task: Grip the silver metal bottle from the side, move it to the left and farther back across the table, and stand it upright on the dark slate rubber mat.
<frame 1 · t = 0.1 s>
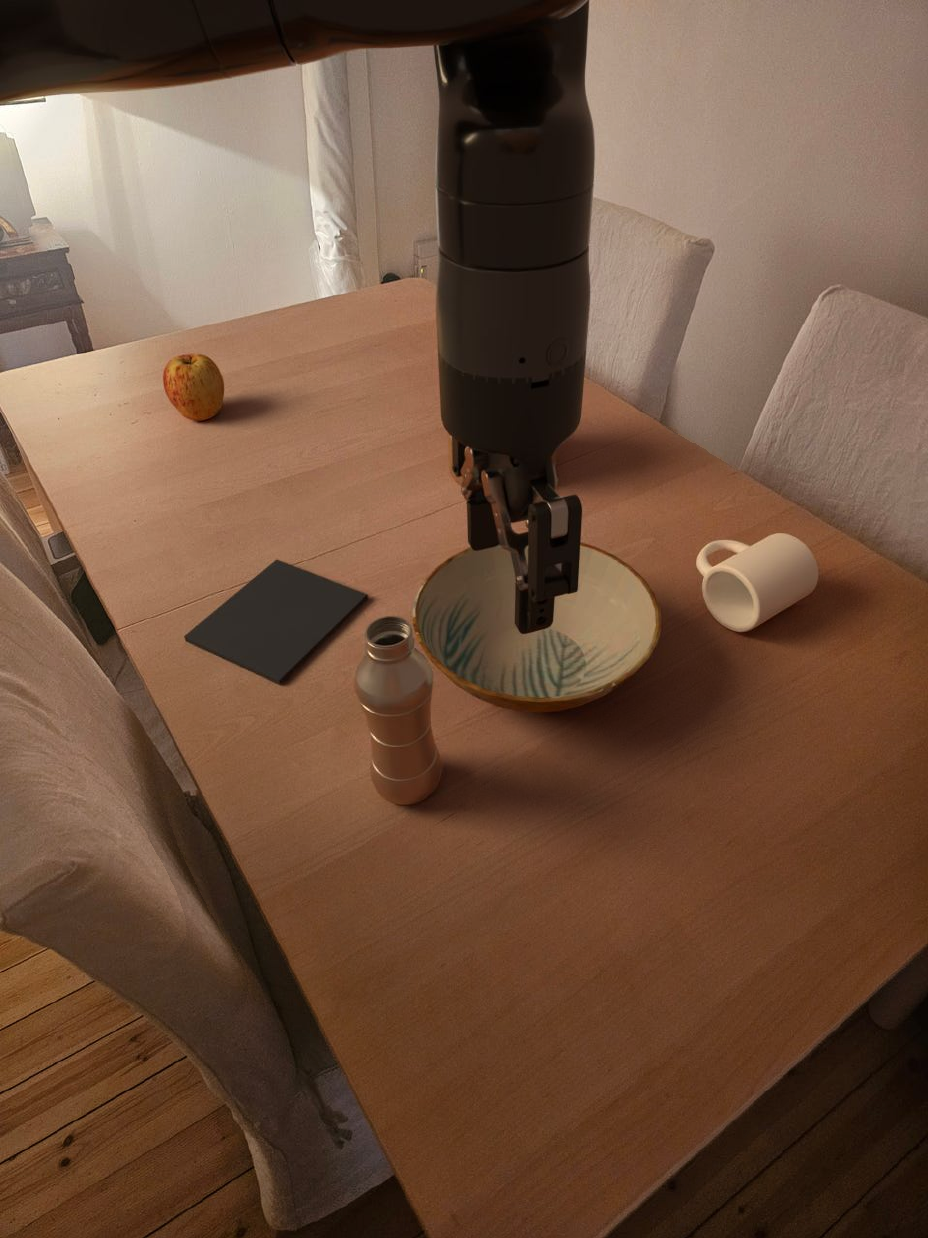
hand: (508, 584, 52), 30 cm above the table, tool pointing down, fingers open, 8 cm apart
bowl: (533, 665, 89), on the table
vase: (502, 468, 118), on the table
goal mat: (279, 619, 95), on the table
mug: (738, 600, 96), on the table
apple: (203, 416, 132), on the table
silver metal bottle: (408, 786, 78), on the table
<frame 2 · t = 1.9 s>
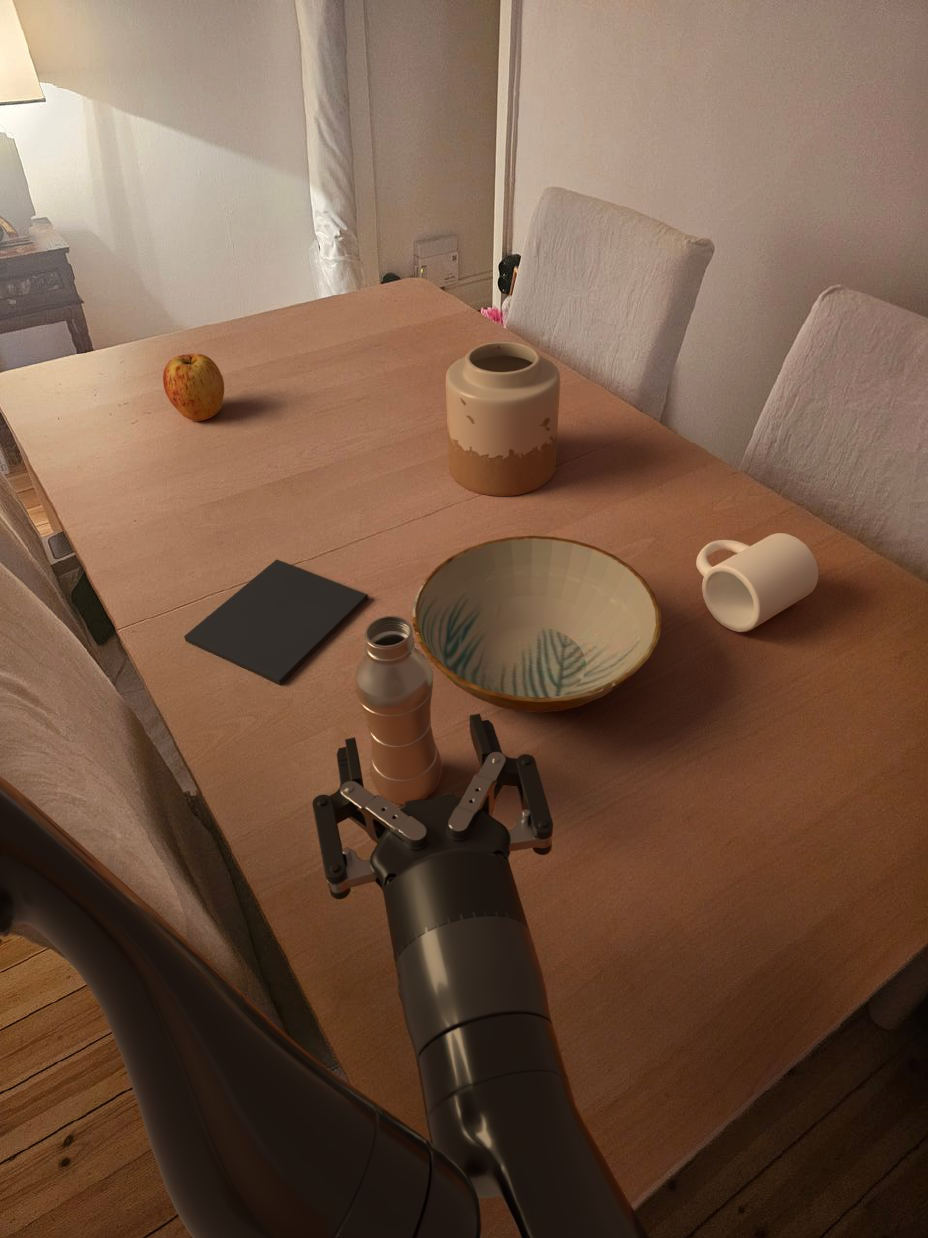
hand: (413, 733, 56), 20 cm above the table, tool horizontal, fingers open, 8 cm apart
nothing on the table moved.
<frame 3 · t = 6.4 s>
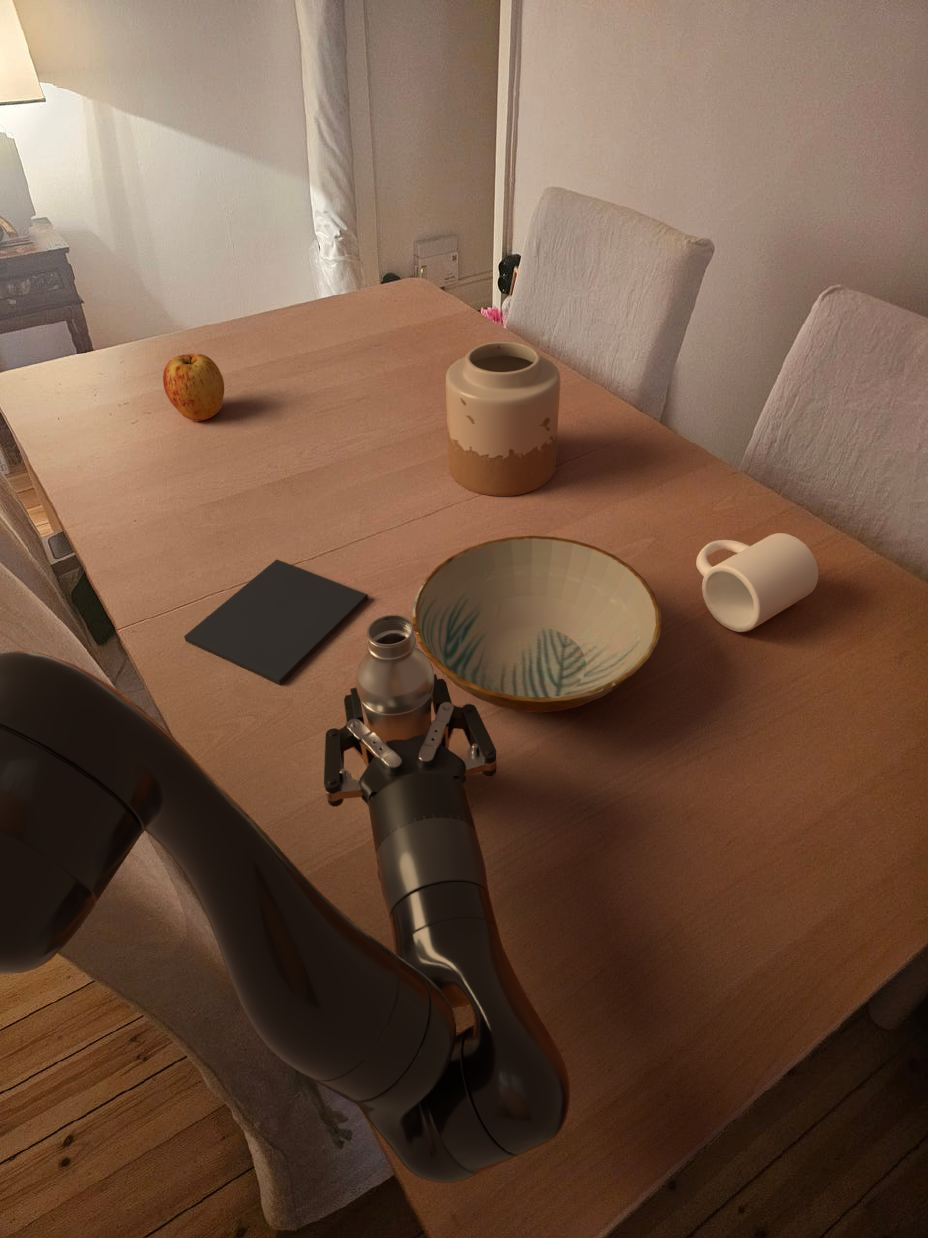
hand: (393, 688, 72), 11 cm above the table, tool horizontal, fingers closed on silver metal bottle, 6 cm apart
silver metal bottle: (408, 786, 78), on the table, touching gripper
everything else where it was.
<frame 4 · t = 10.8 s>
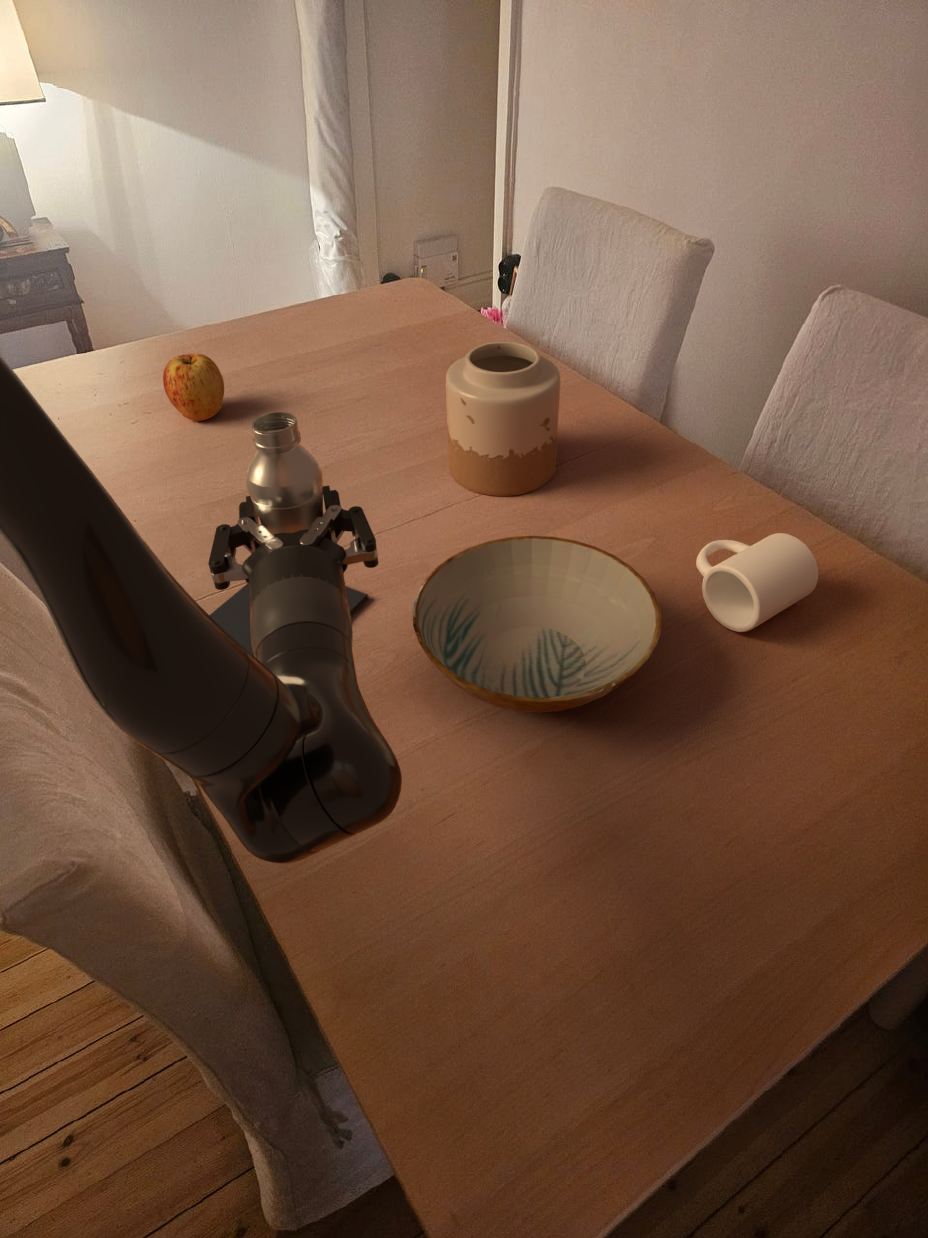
hand: (289, 499, 75), 22 cm above the table, tool horizontal, fingers closed on silver metal bottle, 6 cm apart
silver metal bottle: (310, 607, 81), point 10 cm above the table, touching gripper
everything else where it was.
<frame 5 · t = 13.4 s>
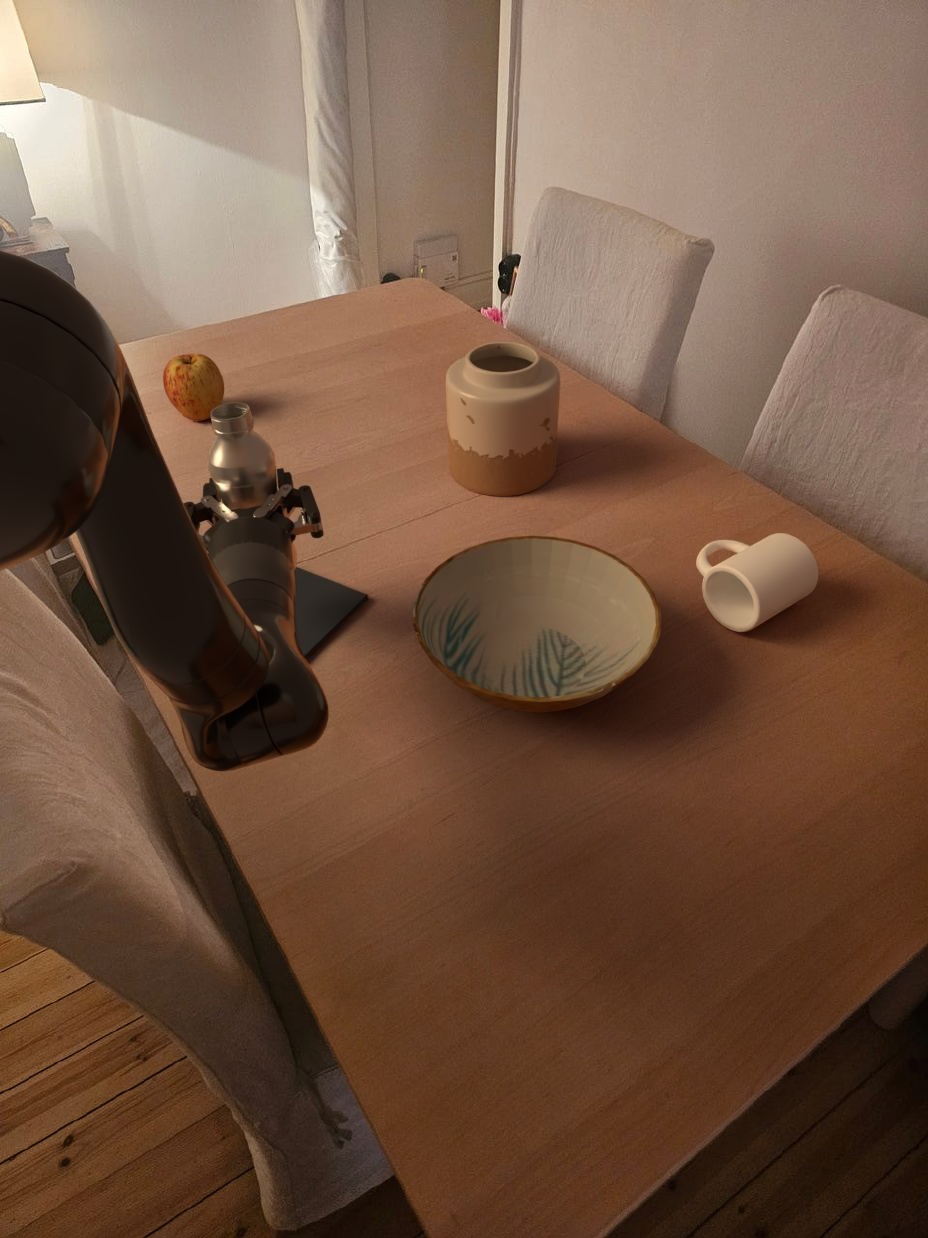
hand: (248, 480, 85), 18 cm above the table, tool horizontal, fingers closed on silver metal bottle, 6 cm apart
silver metal bottle: (270, 578, 91), point 6 cm above the table, touching gripper
everything else where it was.
when the fingers open (12 cm above the table, at t = 15.6 s): silver metal bottle stays where it is, resting on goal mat.
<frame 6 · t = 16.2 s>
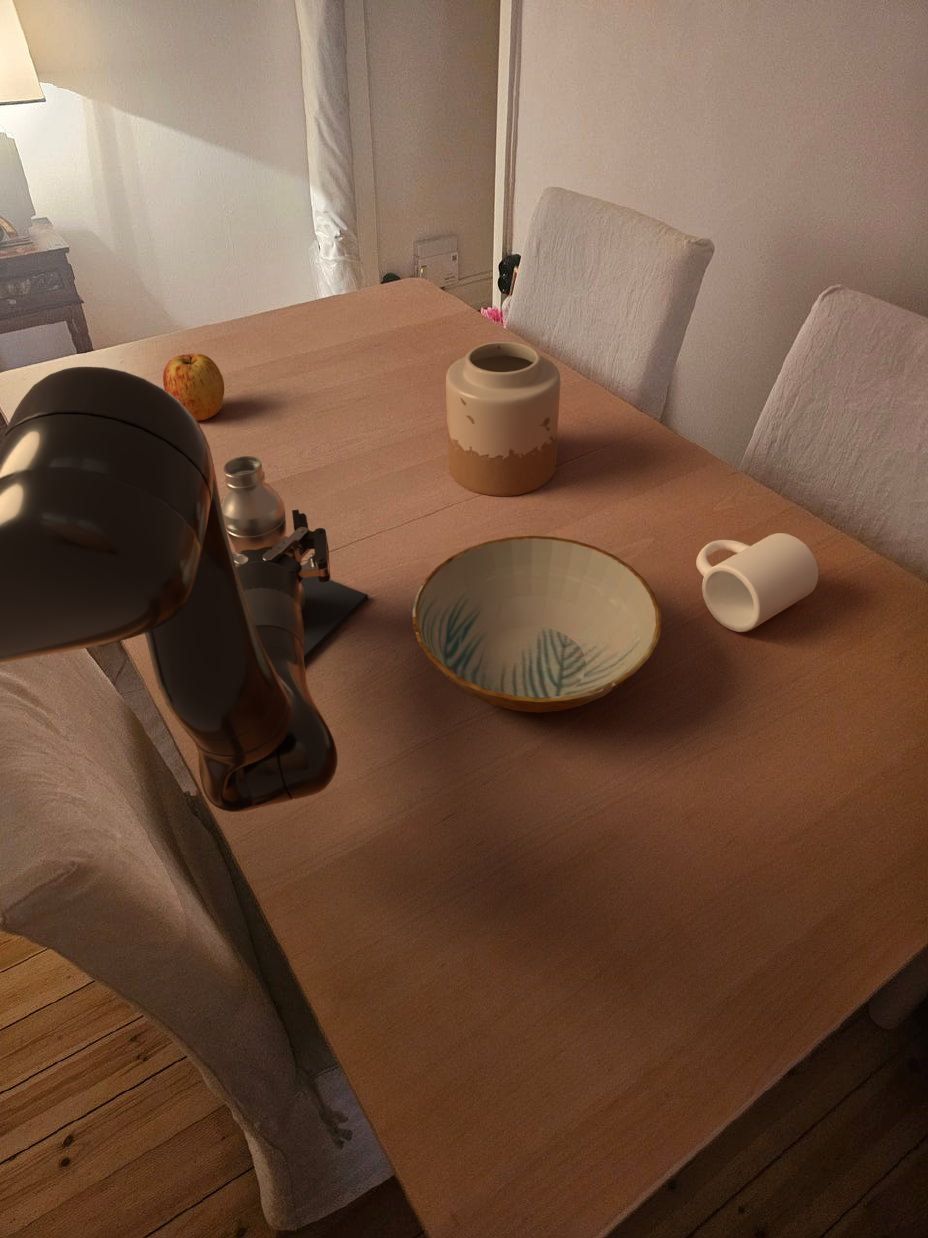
hand: (256, 522, 88), 13 cm above the table, tool horizontal, fingers open, 8 cm apart
silver metal bottle: (279, 616, 95), point 1 cm above the table, touching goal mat
everything else where it was.
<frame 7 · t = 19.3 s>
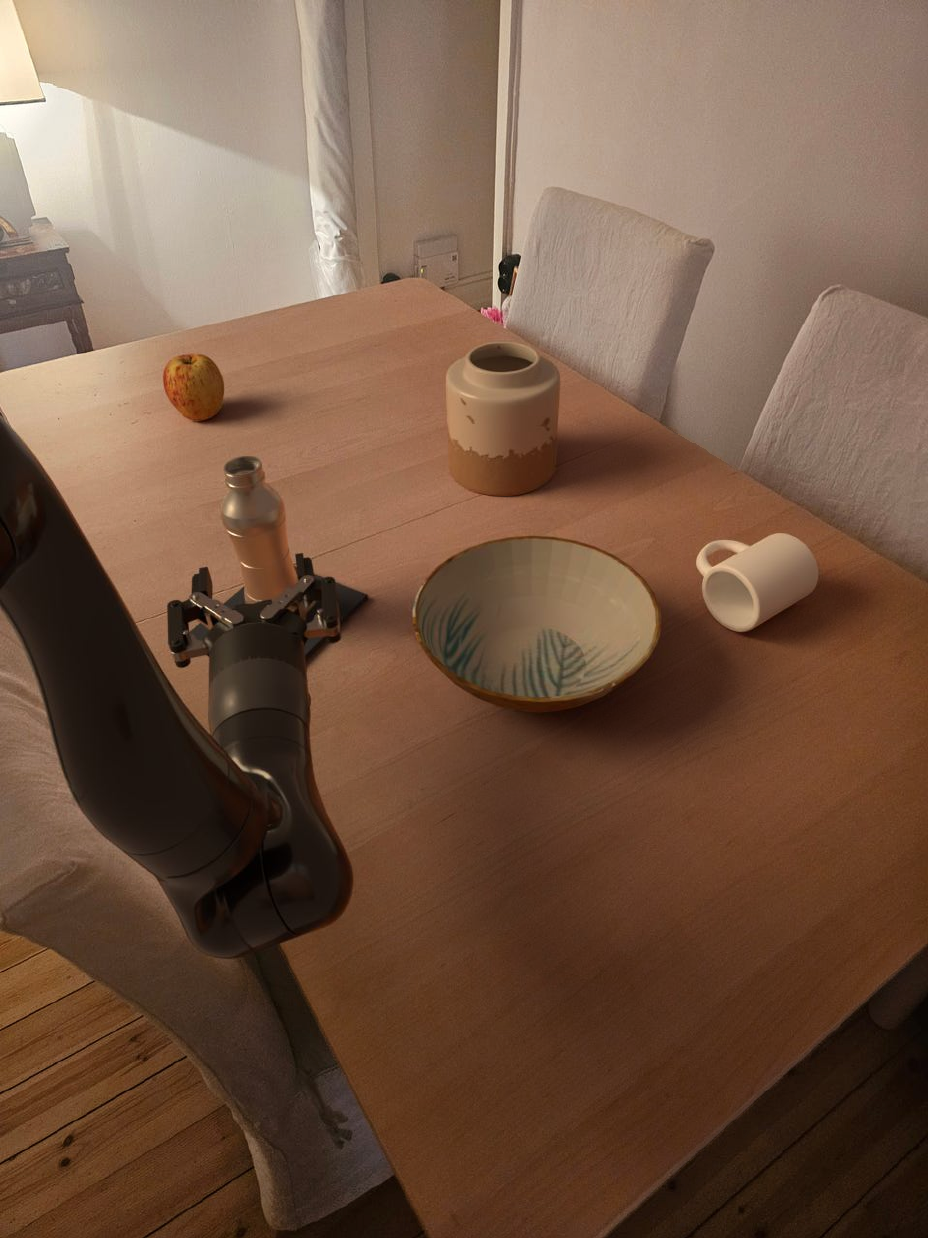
hand: (253, 567, 75), 17 cm above the table, tool horizontal, fingers open, 8 cm apart
nothing on the table moved.
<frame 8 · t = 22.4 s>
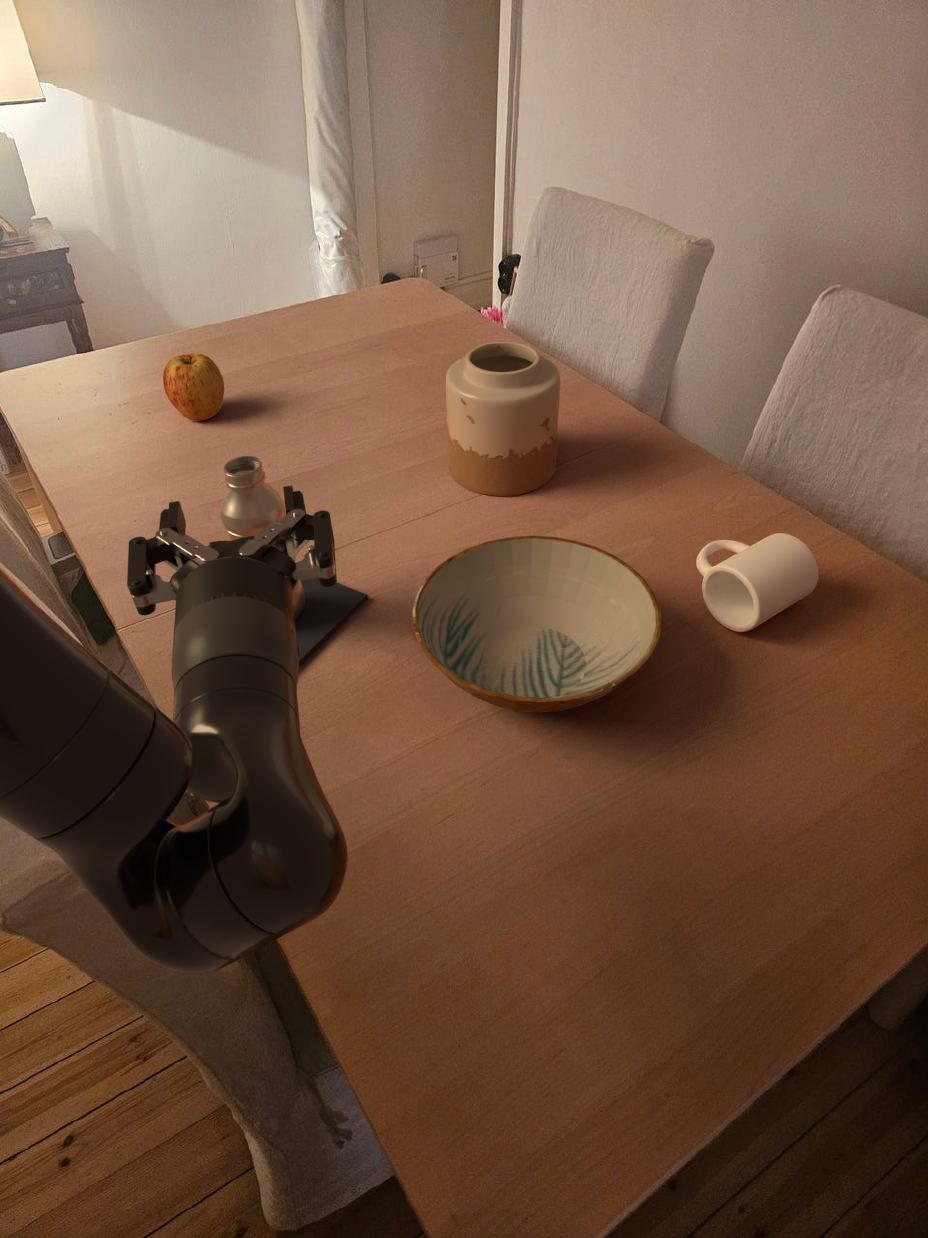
hand: (234, 503, 63), 28 cm above the table, tool horizontal, fingers open, 8 cm apart
nothing on the table moved.
at the end: silver metal bottle inside the target area on the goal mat (0.2 cm from its centre), point 0.6 cm above the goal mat's base; silver metal bottle tilted 0°; the gripper is holding nothing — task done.
